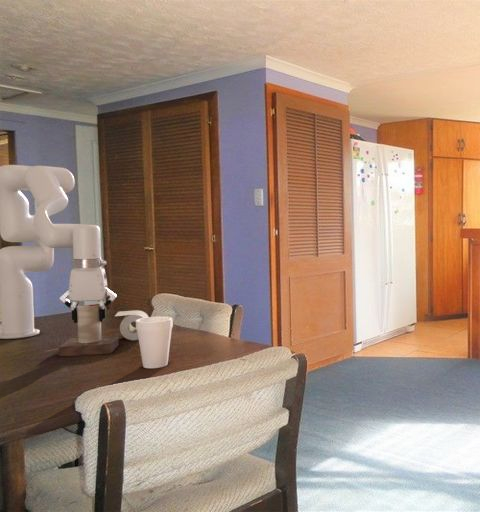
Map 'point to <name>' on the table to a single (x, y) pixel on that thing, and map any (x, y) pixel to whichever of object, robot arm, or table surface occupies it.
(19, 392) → the table surface
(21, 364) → the table surface
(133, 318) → the toilet paper holder
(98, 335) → the rotary dial knob
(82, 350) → the brown square plate
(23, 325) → the robot arm
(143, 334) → the foam cup
